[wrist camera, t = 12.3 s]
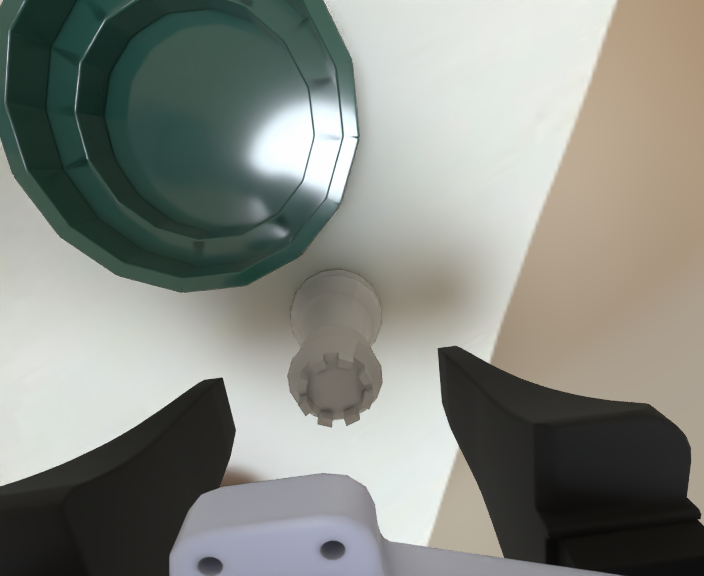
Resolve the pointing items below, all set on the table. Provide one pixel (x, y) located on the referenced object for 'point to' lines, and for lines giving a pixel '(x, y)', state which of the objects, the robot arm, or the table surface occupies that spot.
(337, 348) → the rook chess piece
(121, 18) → the green faceted bowl
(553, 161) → the table surface
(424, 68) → the table surface
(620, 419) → the robot arm
